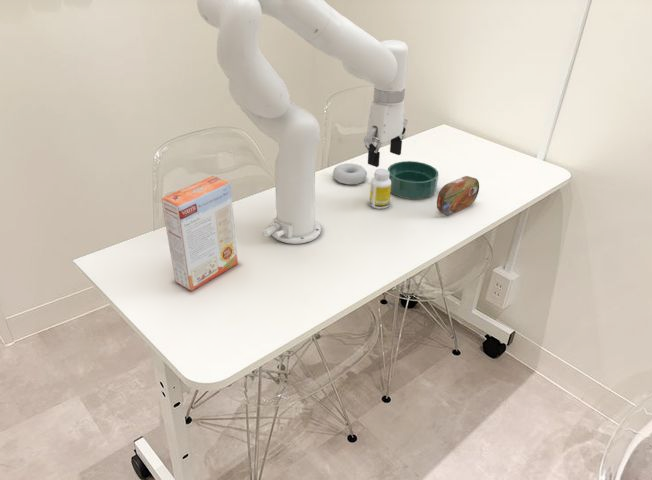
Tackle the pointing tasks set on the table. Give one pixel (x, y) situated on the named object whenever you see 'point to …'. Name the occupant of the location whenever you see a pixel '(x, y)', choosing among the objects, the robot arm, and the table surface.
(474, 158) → the table surface
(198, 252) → the cracker box
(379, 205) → the supplement bottle
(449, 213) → the tin
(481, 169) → the table surface
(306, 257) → the table surface
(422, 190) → the teal round bowl
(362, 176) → the donut
